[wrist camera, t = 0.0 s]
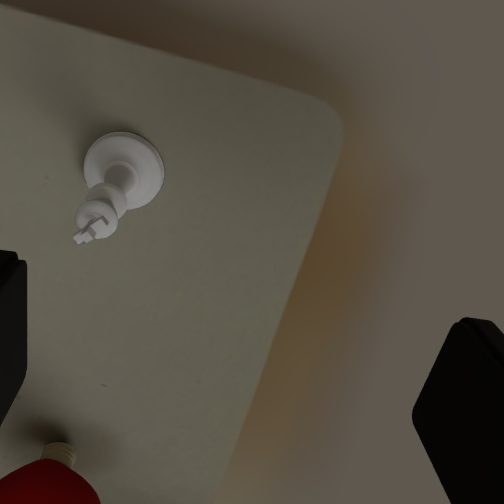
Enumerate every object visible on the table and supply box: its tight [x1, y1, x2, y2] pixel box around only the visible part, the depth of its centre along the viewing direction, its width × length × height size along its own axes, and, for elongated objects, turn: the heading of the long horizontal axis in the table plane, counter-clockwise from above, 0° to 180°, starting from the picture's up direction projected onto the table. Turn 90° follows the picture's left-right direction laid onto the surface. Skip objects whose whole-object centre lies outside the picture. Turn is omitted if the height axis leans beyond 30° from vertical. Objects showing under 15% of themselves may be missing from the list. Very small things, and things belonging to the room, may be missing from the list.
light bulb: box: [0, 442, 101, 504], centre depth 36 cm, size 9×7×10 cm
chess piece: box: [72, 132, 164, 244], centre depth 26 cm, size 5×5×10 cm
